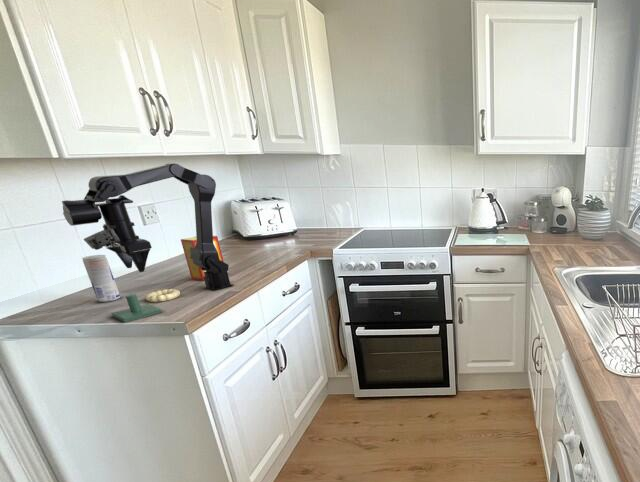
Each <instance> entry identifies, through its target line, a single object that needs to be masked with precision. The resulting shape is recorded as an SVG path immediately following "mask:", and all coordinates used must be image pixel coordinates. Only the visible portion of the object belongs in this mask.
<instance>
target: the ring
mask: <svg viewBox="0 0 640 482" xmlns="http://www.w3.org/2000/svg"><path fill="white" fill-rule="evenodd" d="M180 295H181V291H180V290H178V289H175V288H168V289H167V288H165V289H160V290H156V291H151V292H150V293H149V292H148V294H146V295H145V296H144V297H145V300H146V301H148V302H150V303H159V302H166V301H172V300H174V299H176V298H179V297H180Z"/></svg>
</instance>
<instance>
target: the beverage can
mask: <svg viewBox="0 0 640 482" xmlns="http://www.w3.org/2000/svg"><path fill="white" fill-rule="evenodd" d="M81 260H82V263H83V266H84V267H85V271H86V273H87V276H88V279H89V282H90V284H91V286H92V289H93V292H94V294H95V297H96V300H97V302H100V303H108V302H109V303H110V302H112V301H117V300H119V299H120V298H121V294H120V291H119V289H118V286H117V283H116V280H115V277H114V275H113V272H112V270H111V267H110V264H109V261H108V258H107V257H106V255H105V254H94V255H87V256H83V257H81Z"/></svg>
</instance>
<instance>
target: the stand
mask: <svg viewBox="0 0 640 482" xmlns="http://www.w3.org/2000/svg"><path fill="white" fill-rule="evenodd" d="M125 299H126V301H127V305H128V307H129V308H126V309H122V310H118V311H114V312H111V316H112V317H113V318H115V319H116V320H119V321H122V322H123V323H128V322H131V321H135V320H139V319H143V318H146V317H152V316H154V315H158V314H162V309H161V308H159V307H156V306H154V305H151V304H149V303H147V304H142V305H140V302H139V299H138V296H137V293H132V294H126V295H125Z"/></svg>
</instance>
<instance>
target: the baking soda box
mask: <svg viewBox="0 0 640 482" xmlns="http://www.w3.org/2000/svg"><path fill="white" fill-rule="evenodd" d="M180 243H181V246H182V249H183V252H184V257H185V260H186V263H187V267H188V270H189V275H190V276H191V280H195V281H203V282H205V281H204V276H205V275H204V272H206V271H203V270H202V269H201V268H200V267H199V266H196V265H195V264H194V263H193V261H192V259H190V256H191V252H190V247H193V248H194V247H195V245H196V243H197V236H196V235H195V236H192V237H186V238H181V239H180ZM213 244H214V246H215V248H216V250H217V251H218V255H219V259H220V260H221V261H223V262H224V263H225V261H224V257H223V253H222V249H221V245H220V241H219V237H218V235H213Z"/></svg>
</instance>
